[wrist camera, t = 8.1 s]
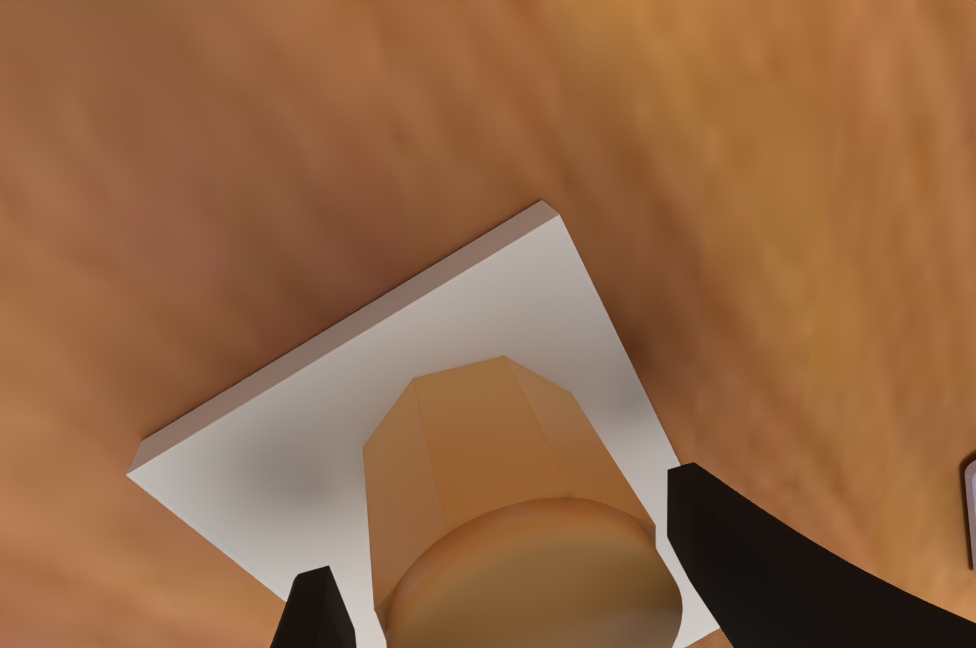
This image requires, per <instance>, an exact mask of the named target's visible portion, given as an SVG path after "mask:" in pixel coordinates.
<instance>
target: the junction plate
mask: <svg viewBox="0 0 976 648" xmlns="http://www.w3.org/2000/svg"><path fill="white" fill-rule="evenodd" d="M503 355H505V357H507V358H509V359H511V360H513V361H515V362H516V363H518V364H520V365H522V366H524V367H525V368H527V369H529V370H531V371H533V372H534V373H536V374H538V375H540V376H542V377H544V378H545V379H547V380H549V381H551V382H553V383H554V384H556V385H558V386H560V387H562V388H563V389H565V390H567V391H569V392H571V394H572V395H573V397H574V398H575V400H576V401H577V403H578V405H579V406H580V408H581V409H582V411H583V412H584V414H585V415H586V417H587V419H588V420H589V422H590V423H591V425H592V426H593V428H594V430H595V431H596V433H597V434H598V436H599V437H600V439H601V440H602V442H603V444H604V445H605V447H606V448H607V450H608V451H609V453H610V454H611V456H612V458H613V459H614V461H615V462H616V464H617V465H618V467H619V469H620V470H621V472H622V473H623V475H624V476H625V478H626V479H627V481H628V483H629V484H630V486H631V487H632V489H633V490H634V492H635V493H636V495H637V497H638V498H639V500H640V501H641V503H642V504H643V506H644V508H645V509H646V511H647V512H648V514H649V515H650V517H651V518H652V520H653V522H654V523H655V525H656V526H657V527H656V550H657V551H658V553H659V554H660V556H661V558H662V559H663V561H664V563H665V564H666V566H667V568H668V569H669V571H670V572H671V574H672V576H673V577H674V579H675V581H676V583H677V585H678V587H679V590H680V593H681V597H682V605H683V613H682V622H681V626H680V629H679V633H678V636H677V638H676V640H675V642H674V645H673V647H672V648H685V647H686V646H688V645H690V644H692V643H694V642H695V641H697V640H699V639H701V638H702V637H704V636H706V635H708V634H709V633H711V632H713V631H715V630H717V629H718V628H720V626H719V625H718V623H717V622H716V620H715V619H714V617H713V616H712V614H711V613H710V611H709V610H708V608H707V607H706V605H705V604H704V602H703V601H702V599H701V598H700V596H699V595H698V593H697V592H696V590H695V589H694V587H693V586H692V584H691V582H690V581H689V579H688V577H687V575H686V573H685V571H684V569H683V568H682V566H681V564H680V562H679V560H678V558H677V556H676V554H675V552H674V550H673V548H672V546H671V544H670V542H669V540H668V538H667V470H668V469H671V468H675V467H678V466H681V465H680V463H679V461H678V459H677V457H676V455H675V453H674V451H673V449H672V446H671V444H670V442H669V440H668V438H667V436H666V434H665V432H664V430H663V428H662V426H661V424H660V422H659V420H658V417H657V415H656V413H655V411H654V409H653V407H652V405H651V403H650V401H649V399H648V397H647V395H646V393H645V391H644V388H643V386H642V384H641V382H640V380H639V378H638V376H637V374H636V372H635V370H634V368H633V366H632V364H631V362H630V359H629V357H628V355H627V353H626V351H625V349H624V347H623V345H622V343H621V341H620V339H619V337H618V335H617V333H616V330H615V328H614V326H613V324H612V322H611V320H610V318H609V316H608V314H607V312H606V310H605V308H604V306H603V304H602V301H601V299H600V297H599V295H598V293H597V291H596V289H595V287H594V285H593V283H592V281H591V279H590V277H589V275H588V272H587V270H586V268H585V266H584V264H583V262H582V260H581V258H580V256H579V254H578V252H577V250H576V248H575V246H574V243H573V241H572V239H571V237H570V235H569V233H568V231H567V229H566V227H565V225H564V223H563V221H562V219H561V217H560V214H558V213H557V212H556V211H555V210H554V209H553V208H551V207H550V206H549V205H548V204H547V203H545V202H544V201H543V200H541V201H539V202H537V203H536V204H534V205H532V206H531V207H529V208H527V209H526V210H524V211H522V212H521V213H519V214H517V215H516V216H514V217H512V218H511V219H509V220H507V221H506V222H504V223H502V224H501V225H499V226H497V227H496V228H494V229H492V230H491V231H489V232H488V233H486V234H484V235H483V236H481V237H479V238H478V239H476V240H474V241H473V242H471V243H469V244H468V245H466V246H464V247H463V248H461V249H459V250H458V251H456V252H454V253H453V254H451V255H449V256H448V257H446V258H444V259H443V260H441V261H439V262H438V263H436V264H434V265H433V266H431V267H429V268H428V269H426V270H425V271H423V272H421V273H420V274H418V275H416V276H415V277H413V278H411V279H410V280H408V281H406V282H405V283H403V284H401V285H400V286H398V287H396V288H395V289H393V290H391V291H390V292H388V293H386V294H385V295H383V296H381V297H380V298H378V299H376V300H375V301H373V302H371V303H370V304H368V305H366V306H365V307H363V308H362V309H360V310H358V311H357V312H355V313H353V314H352V315H350V316H348V317H347V318H345V319H343V320H342V321H340V322H338V323H337V324H335V325H333V326H332V327H330V328H328V329H327V330H325V331H323V332H322V333H320V334H318V335H317V336H315V337H313V338H312V339H310V340H308V341H307V342H305V343H303V344H302V345H300V346H299V347H297V348H295V349H294V350H292V351H290V352H289V353H287V354H285V355H284V356H282V357H280V358H279V359H277V360H275V361H274V362H272V363H270V364H269V365H267V366H265V367H264V368H262V369H260V370H259V371H257V372H255V373H254V374H252V375H250V376H249V377H247V378H245V379H244V380H242V381H240V382H239V383H237V384H236V385H234V386H232V387H231V388H229V389H227V390H226V391H224V392H222V393H221V394H219V395H217V396H216V397H214V398H212V399H211V400H209V401H207V402H206V403H204V404H202V405H201V406H199V407H197V408H196V409H194V410H192V411H191V412H189V413H187V414H186V415H184V416H182V417H181V418H179V419H177V420H176V421H174V422H173V423H171V424H169V425H168V426H166V427H164V428H163V429H161V430H159V431H158V432H156V433H154V434H153V435H151V436H149V437H148V438H146V439H144V440H143V441H141V443H140V445H139V447H138V450H137V452H136V454H135V456H134V458H133V461H132V463H131V465H130V467H129V469H128V471H127V474H126V476H128V477H129V478H130V479H131V480H133V481H134V482H135V483H136V484H138V485H139V486H140V487H141V488H143V489H144V490H145V491H146V492H148V493H149V494H150V495H151V496H153V497H154V498H155V499H157V500H158V501H159V502H160V503H162V504H163V505H164V506H165V507H167V508H168V509H169V510H170V511H172V512H173V513H174V514H175V515H177V516H178V517H179V518H180V519H182V520H183V521H184V522H186V523H187V524H188V525H189V526H191V527H192V528H193V529H194V530H196V531H197V532H198V533H199V534H201V535H202V536H203V537H204V538H206V539H207V540H208V541H209V542H211V543H212V544H213V545H215V546H216V547H217V548H218V549H220V550H221V551H222V552H223V553H225V554H226V555H227V556H228V557H230V558H231V559H232V560H233V561H235V562H236V563H237V564H238V565H240V566H241V567H242V568H244V569H245V570H246V571H247V572H249V573H250V574H251V575H252V576H254V577H255V578H256V579H257V580H259V581H260V582H261V583H262V584H264V585H265V586H266V587H267V588H269V589H270V590H271V591H273V592H274V593H275V594H276V595H278V596H279V597H280V598H281V599H283V600H284V601H285V602H287V599H288V596H289V593H290V590H291V587H292V584H293V581H294V579H295V577H296V576H297V575H298V574H300V573H303V572H307V571H310V570H314V569H317V568H321V567H324V566H328V565H329V566H330V569H331V571H332V574H333V576H334V579H335V581H336V584H337V586H338V589H339V591H340V594H341V596H342V599H343V601H344V604H345V606H346V609H347V611H348V614H349V616H350V619H351V621H352V624H353V626H354V629H355V636H356V646H357V648H387V646H386V639H385V637H384V634H383V631H382V629H381V626H380V623H379V621H378V618H377V615H376V612H375V611H374V603H373V589H372V574H371V560H370V545H369V530H368V516H367V501H366V487H365V472H364V458H363V445H365V443H366V442H367V441H368V439H369V438H370V436H371V435H372V434H373V432H374V431H375V430H376V428H377V427H378V426H379V424H380V423H381V421H382V420H383V419H384V417H385V416H386V415H387V413H388V412H389V410H390V409H391V408H392V406H393V405H394V404H395V402H396V401H397V400H398V398H399V397H400V395H401V394H402V393H403V391H404V390H405V389H406V387H407V386H408V384H409V383H410V382H411V380H412V378H415V377H419V376H423V375H427V374H431V373H435V372H439V371H443V370H447V369H451V368H455V367H459V366H463V365H467V364H471V363H475V362H480V361H484V360H488V359H492V358H496V357H500V356H503Z"/></svg>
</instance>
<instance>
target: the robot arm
mask: <svg viewBox="0 0 976 648" xmlns="http://www.w3.org/2000/svg"><path fill="white" fill-rule="evenodd" d="M965 484H966V495H967V505H968V516H969V526H970V537H971V548H972V558H973V569H974V575H975V576H976V460H974V461H973V462H972V463H970V464H969V465H968V467H967V468H966V470H965ZM667 538H668V540H669V542H670V544H671V546H672V548H673V550H674V552H675V554H676V556H677V558H678V560H679V562H680V564H681V566H682V568H683V569H684V571H685V573H686V575H687V577H688V579H689V581H690V582H691V584H692V586H693V587H694V589H695V590H696V592H697V593H698V595H699V596H700V598H701V599H702V601H703V602H704V604H705V605H706V607H707V608H708V610H709V611H710V613H711V614H712V616H713V617H714V619H715V620H716V622H717V623H718V625H719V626H720V628H721V629H722V631H723V632H724V634H725V635H726V637H727V638H728V640H729V641H730V643H731V644H732V646H733V647H734V648H976V623H974V622H972V621H969V620H967V619H965V618H963V617H960V616H958V615H956V614H953V613H951V612H949V611H947V610H944V609H942V608H940V607H937V606H935V605H933V604H931V603H928V602H926V601H924V600H922V599H920V598H918V597H916V596H913V595H911V594H909V593H907V592H905V591H903V590H901V589H899V588H897V587H895V586H893V585H891V584H889V583H887V582H885V581H883V580H881V579H879V578H877V577H875V576H874V575H872V574H870V573H868V572H866V571H864V570H862V569H860V568H858V567H856V566H855V565H853V564H851V563H849V562H847V561H845V560H844V559H842V558H840V557H839V556H837V555H835V554H833V553H832V552H830V551H828V550H827V549H825V548H823V547H821V546H820V545H818V544H816V543H815V542H813V541H811V540H810V539H808V538H807V537H805V536H803V535H802V534H800V533H798V532H797V531H795V530H794V529H792V528H791V527H789V526H788V525H786V524H784V523H783V522H781V521H780V520H778V519H777V518H775V517H774V516H772V515H770V514H769V513H767V512H766V511H764V510H763V509H761V508H760V507H758V506H757V505H755V504H754V503H752V502H751V501H750V500H748V499H747V498H745V497H744V496H742V495H741V494H739V493H738V492H736V491H735V490H733V489H732V488H731V487H729V486H728V485H726V484H725V483H723V482H722V481H721V480H719V479H718V478H716V477H715V476H713V475H712V474H710V473H709V472H708V471H706V470H705V469H703V468H702V467H700V466H699V465H697V464H696V463H694V462H693V463H689V464H685V465H682V466H678V467H675V468H671V469H668V470H667ZM270 648H357V646H356V636H355V629H354V626H353V624H352V621H351V619H350V616H349V614H348V611H347V609H346V606H345V604H344V601H343V599H342V596H341V594H340V591H339V589H338V586H337V584H336V581H335V579H334V576H333V574H332V571H331V569H330V566H329V565H328V566H324V567H321V568H317V569H314V570H310V571H307V572H303V573H300V574H298V575H297V576H296V577H295V579H294V581H293V584H292V587H291V590H290V593H289V596H288V599H287V602H286V605H285V608H284V611H283V614H282V617H281V619H280V622H279V625H278V628H277V630H276V633H275V636H274V638H273V641H272V644H271V646H270Z"/></svg>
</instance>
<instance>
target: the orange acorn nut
mask: <svg viewBox="0 0 976 648" xmlns="http://www.w3.org/2000/svg"><path fill="white" fill-rule="evenodd" d="M363 458H364V472H365V487H366V501H367V516H368V530H369V545H370V560H371V574H372V589H373V603H374V611H375V612H376V615H377V618H378V621H379V623H380V626H381V629H382V631H383V634H384V637H385V639H386V646H387V648H672V647H673V645H674V642H675V640H676V638H677V636H678V633H679V629H680V626H681V622H682V613H683V605H682V597H681V593H680V590H679V587H678V585H677V583H676V581H675V579H674V577H673V576H672V574H671V572H670V571H669V569H668V568H667V566H666V564H665V563H664V561H663V559H662V558H661V556H660V554H659V553H658V551H657V550H656V527H657V526H656V525H655V523H654V522H653V520H652V518H651V517H650V515H649V514H648V512H647V511H646V509H645V508H644V506H643V504H642V503H641V501H640V500H639V498H638V497H637V495H636V493H635V492H634V490H633V489H632V487H631V486H630V484H629V483H628V481H627V479H626V478H625V476H624V475H623V473H622V472H621V470H620V469H619V467H618V465H617V464H616V462H615V461H614V459H613V458H612V456H611V454H610V453H609V451H608V450H607V448H606V447H605V445H604V444H603V442H602V440H601V439H600V437H599V436H598V434H597V433H596V431H595V430H594V428H593V426H592V425H591V423H590V422H589V420H588V419H587V417H586V415H585V414H584V412H583V411H582V409H581V408H580V406H579V405H578V403H577V401H576V400H575V398H574V397H573V395H572V394H571V392H569V391H567V390H565V389H563V388H562V387H560V386H558V385H556V384H554V383H553V382H551V381H549V380H547V379H545V378H544V377H542V376H540V375H538V374H536V373H534V372H533V371H531V370H529V369H527V368H525V367H524V366H522V365H520V364H518V363H516V362H515V361H513V360H511V359H509V358H507V357H505V355H503V356H500V357H496V358H492V359H488V360H484V361H480V362H475V363H471V364H467V365H463V366H459V367H455V368H451V369H447V370H443V371H439V372H435V373H431V374H427V375H423V376H419V377H415V378H412V380H411V382H410V383H409V384H408V386H407V387H406V389H405V390H404V391H403V393H402V394H401V395H400V397H399V398H398V400H397V401H396V402H395V404H394V405H393V406H392V408H391V409H390V410H389V412H388V413H387V415H386V416H385V417H384V419H383V420H382V421H381V423H380V424H379V426H378V427H377V428H376V430H375V431H374V432H373V434H372V435H371V436H370V438H369V439H368V441H367V442H366V443H365V445H363Z"/></svg>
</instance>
